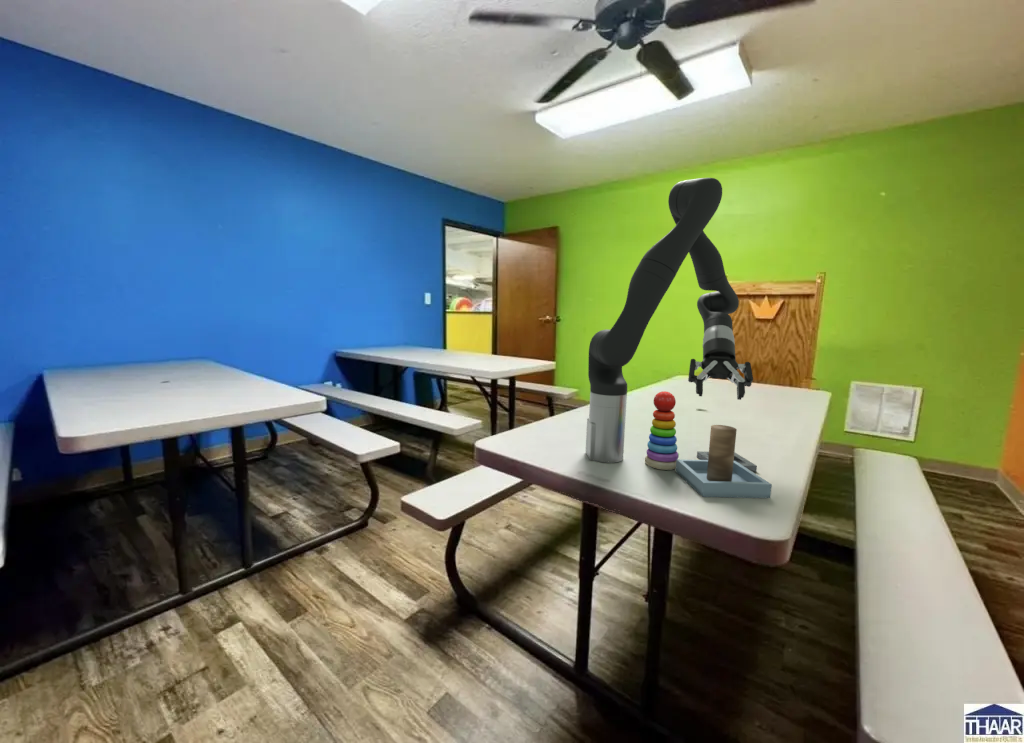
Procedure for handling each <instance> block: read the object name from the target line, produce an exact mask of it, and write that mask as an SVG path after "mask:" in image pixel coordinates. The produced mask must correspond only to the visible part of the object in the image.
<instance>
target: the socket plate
mask: <svg viewBox="0 0 1024 743" xmlns="http://www.w3.org/2000/svg"><path fill="white" fill-rule="evenodd" d="M708 456H709V451H697V452H696V458H697V459H698V460H708ZM734 461H736V462H738V463H739V464H741V465H742V466H744V467H746V468H747V469H749V470H750V471H752V472H753V473H755V472H757V470H758V466H757V465H756V464H755V463H753V462H751V461H750V460H748V459H746V458H744V457H743V456H742V455H740V454H738V453H737V452H734Z"/></svg>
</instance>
